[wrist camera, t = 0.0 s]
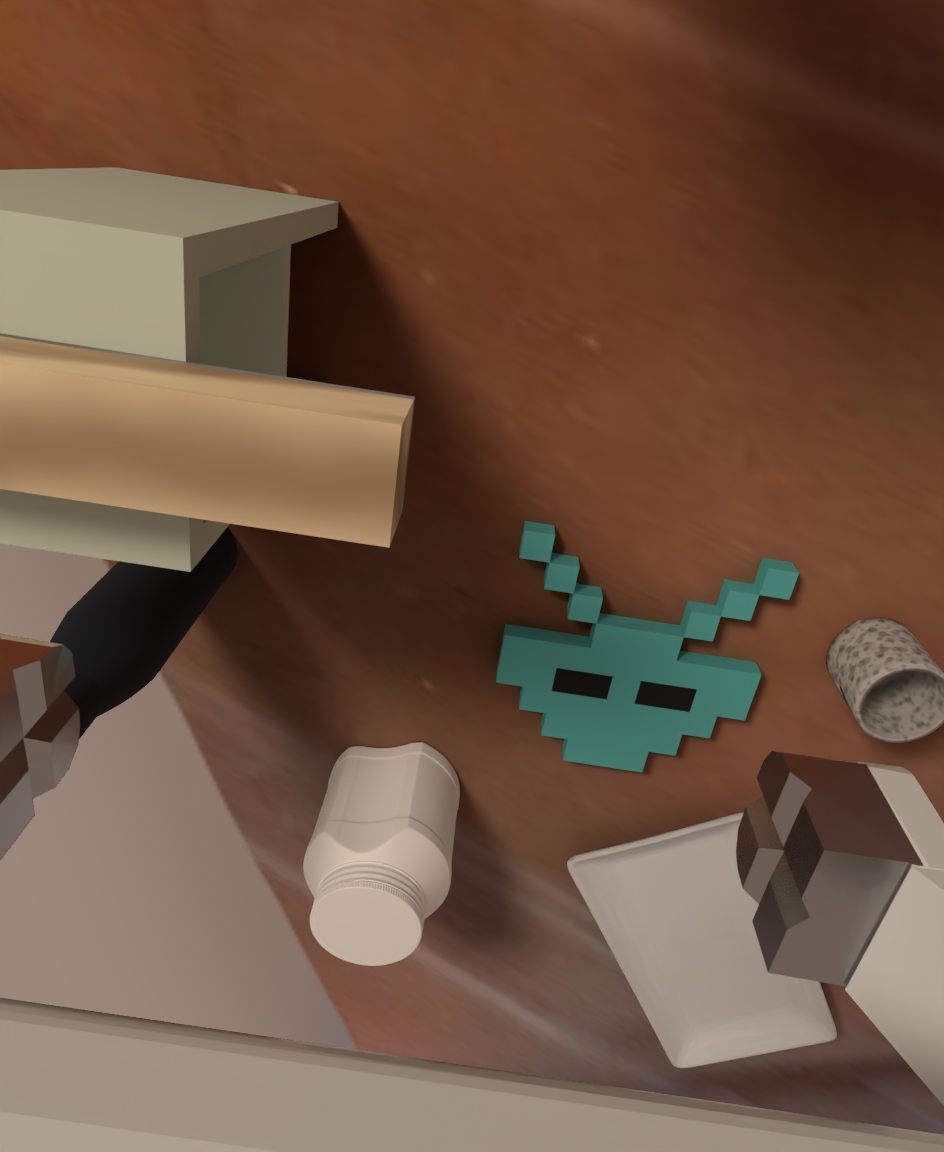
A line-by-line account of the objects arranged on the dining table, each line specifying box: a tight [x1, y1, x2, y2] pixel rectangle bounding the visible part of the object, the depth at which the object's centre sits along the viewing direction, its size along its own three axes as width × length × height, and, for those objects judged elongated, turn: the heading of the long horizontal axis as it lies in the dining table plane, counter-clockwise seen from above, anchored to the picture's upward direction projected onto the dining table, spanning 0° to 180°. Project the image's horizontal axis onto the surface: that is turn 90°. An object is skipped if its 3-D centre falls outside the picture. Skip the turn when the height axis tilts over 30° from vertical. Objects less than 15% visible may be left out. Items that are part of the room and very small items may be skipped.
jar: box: [303, 742, 460, 966], centre depth 66 cm, size 12×10×15 cm
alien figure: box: [496, 521, 799, 772], centre depth 64 cm, size 20×2×20 cm
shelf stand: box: [0, 167, 339, 572], centre depth 43 cm, size 13×14×26 cm
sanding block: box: [0, 333, 415, 548], centre depth 29 cm, size 4×19×4 cm, turn 82°
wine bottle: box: [50, 528, 237, 739], centre depth 50 cm, size 6×6×30 cm
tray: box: [567, 812, 837, 1068], centre depth 77 cm, size 17×32×4 cm, turn 24°
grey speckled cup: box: [826, 618, 944, 743], centre depth 61 cm, size 10×7×7 cm, turn 73°
